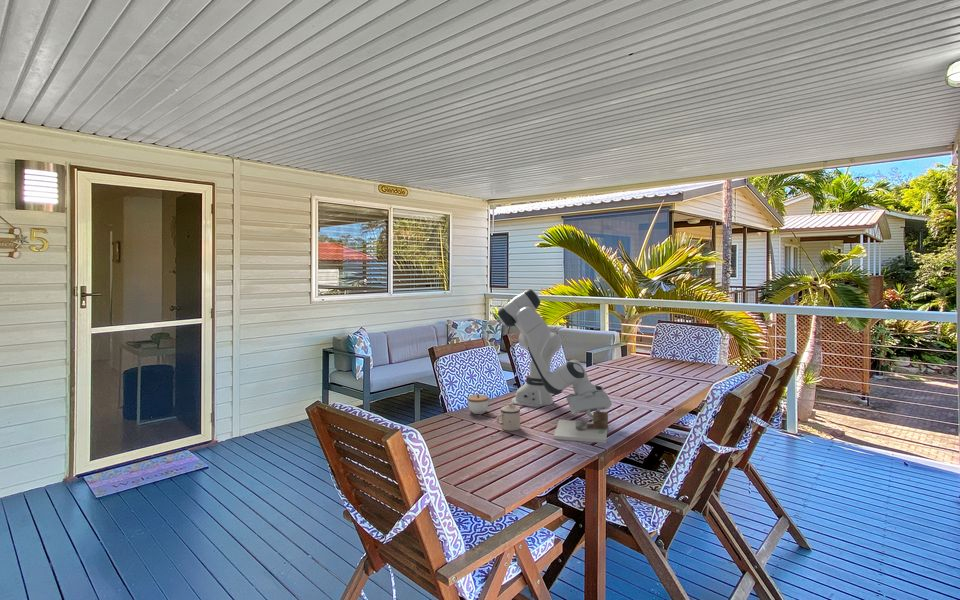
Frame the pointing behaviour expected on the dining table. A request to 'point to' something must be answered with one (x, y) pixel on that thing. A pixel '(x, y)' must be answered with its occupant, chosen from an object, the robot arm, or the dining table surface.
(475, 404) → the lidded jar
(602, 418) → the tuning peg
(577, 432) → the plate
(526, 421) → the dining table surface
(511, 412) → the teacup with lid
